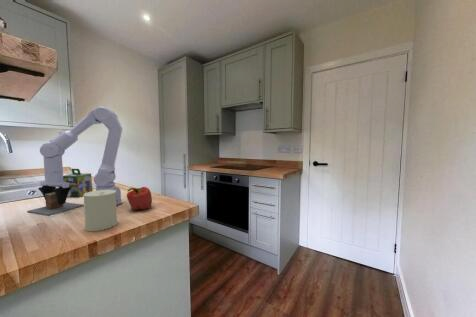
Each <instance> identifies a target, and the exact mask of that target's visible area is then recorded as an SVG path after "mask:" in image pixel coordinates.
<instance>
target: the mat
mask: <svg viewBox="0 0 476 317" xmlns="http://www.w3.org/2000/svg"><path fill="white" fill-rule="evenodd" d="M81 207H84V204H82V203H75V202H65V204H63V207H60V208H56V209H52V210H49V209H46V205H45V206H42V207H38V208H33V209H29V210H27V211H26V212H27V213H30V214H35V215H41V216H46V217H50V216H53V215H57V214H60V213H64V212H68V211H71V210H75V209H78V208H81Z"/></svg>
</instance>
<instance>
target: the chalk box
mask: <svg viewBox="0 0 476 317" xmlns="http://www.w3.org/2000/svg"><path fill="white" fill-rule="evenodd" d="M75 171H76V172H75ZM63 181H65V182H68V183H69V187H71V190H70V191H69V193H68V195H67V198H82V197H84V196H83V195H84V194H85V193H88V192H92V191H94V190H93V180H92V173H90V172H89V173H88V172H87V173H86V172H85V173H82V172H81V171H80V169H79V168H71V174H65V175H63Z"/></svg>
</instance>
